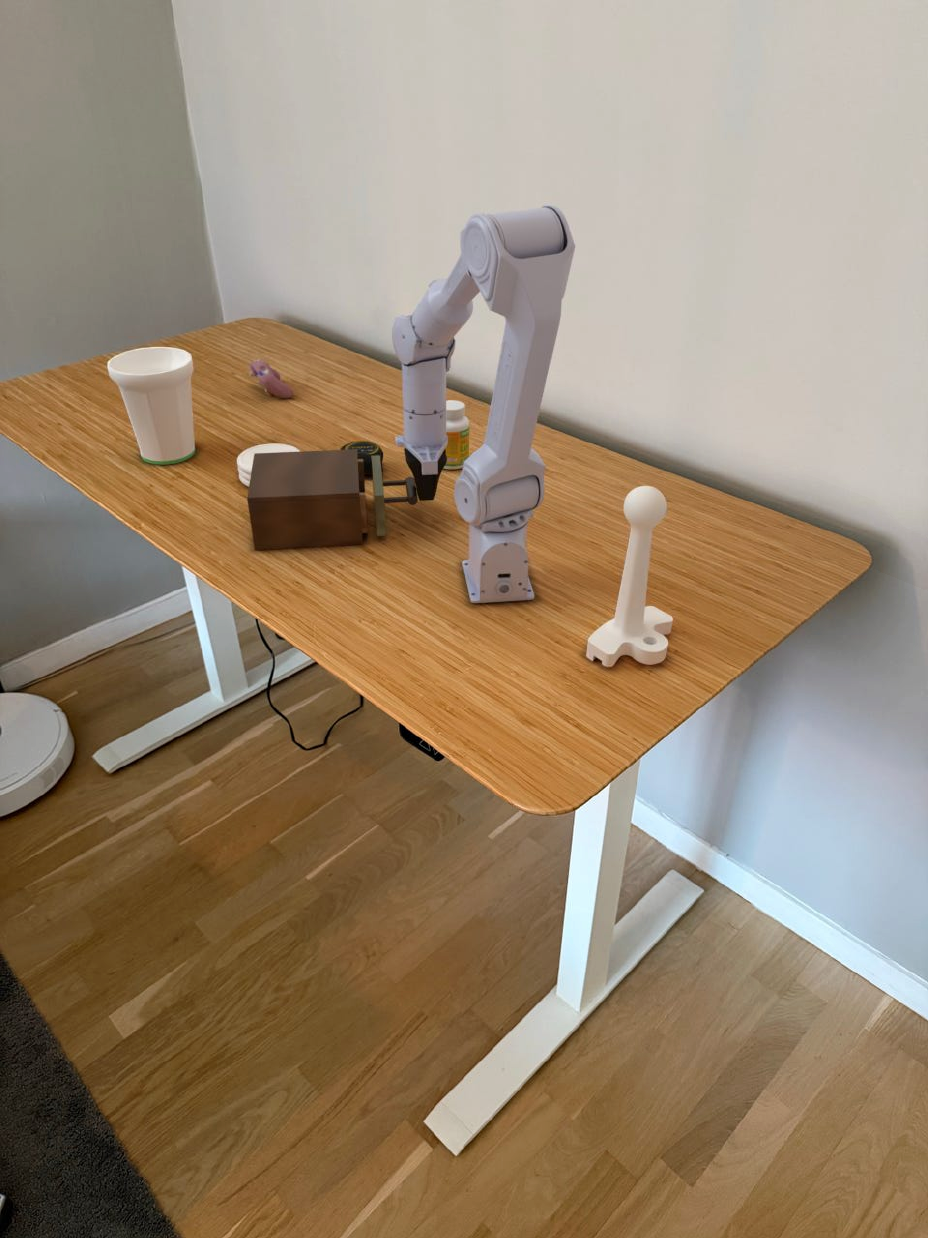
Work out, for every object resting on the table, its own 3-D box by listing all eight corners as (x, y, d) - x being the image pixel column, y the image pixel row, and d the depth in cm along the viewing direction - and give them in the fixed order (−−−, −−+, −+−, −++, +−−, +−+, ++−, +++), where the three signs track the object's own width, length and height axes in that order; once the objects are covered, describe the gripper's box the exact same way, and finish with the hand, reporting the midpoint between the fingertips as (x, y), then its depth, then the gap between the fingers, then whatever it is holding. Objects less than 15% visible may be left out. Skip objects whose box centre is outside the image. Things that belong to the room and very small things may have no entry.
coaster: (227, 474, 137) (224, 453, 135) (283, 456, 143) (281, 436, 141) (260, 498, 131) (257, 476, 129) (317, 479, 136) (315, 458, 134)
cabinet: (360, 498, 132) (356, 448, 127) (362, 544, 121) (359, 492, 116) (261, 502, 130) (254, 453, 125) (254, 550, 119) (247, 497, 115)
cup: (111, 464, 140) (88, 369, 131) (156, 433, 149) (138, 342, 141) (181, 475, 137) (163, 379, 128) (222, 443, 147) (208, 351, 138)
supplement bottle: (465, 472, 139) (465, 413, 133) (431, 468, 140) (430, 409, 134) (471, 457, 143) (472, 399, 137) (439, 454, 144) (438, 396, 138)
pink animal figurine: (261, 390, 169) (240, 361, 164) (281, 377, 169) (261, 347, 165) (275, 409, 162) (254, 379, 157) (296, 395, 162) (275, 364, 157)
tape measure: (338, 480, 136) (336, 458, 134) (342, 461, 142) (340, 439, 139) (383, 480, 136) (382, 458, 134) (385, 460, 142) (384, 439, 140)
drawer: (413, 492, 131) (412, 453, 128) (420, 533, 122) (419, 493, 118) (289, 498, 130) (284, 459, 126) (286, 541, 120) (280, 500, 116)
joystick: (642, 616, 108) (666, 465, 96) (692, 646, 103) (723, 491, 91) (578, 651, 102) (594, 495, 90) (627, 684, 97) (651, 524, 86)
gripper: (391, 387, 123) (394, 476, 131) (397, 430, 111) (400, 525, 119) (442, 385, 124) (442, 474, 132) (453, 428, 112) (453, 522, 120)
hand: (426, 498), depth 125 cm, fingers closed, pressing on drawer
